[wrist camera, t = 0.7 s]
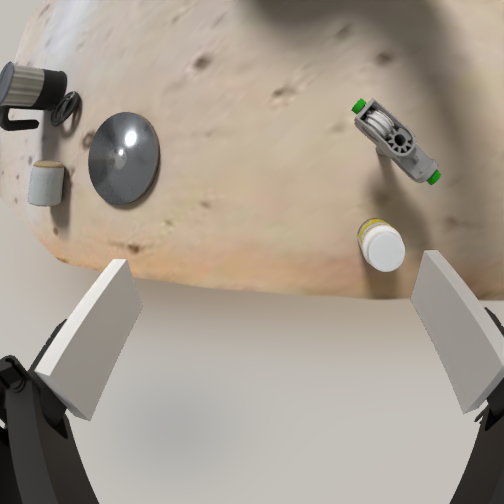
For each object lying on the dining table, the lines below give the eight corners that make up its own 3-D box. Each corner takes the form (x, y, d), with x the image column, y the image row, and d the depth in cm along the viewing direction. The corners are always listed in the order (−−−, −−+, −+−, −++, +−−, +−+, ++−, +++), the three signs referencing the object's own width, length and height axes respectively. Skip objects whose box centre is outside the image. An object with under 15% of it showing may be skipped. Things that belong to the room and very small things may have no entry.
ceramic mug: (71, 162, 44) (40, 165, 36) (67, 203, 46) (37, 209, 39) (46, 157, 46) (19, 159, 39) (43, 193, 48) (16, 198, 41)
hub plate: (92, 125, 40) (86, 125, 39) (158, 103, 36) (153, 101, 35) (96, 206, 44) (91, 207, 43) (163, 199, 40) (158, 200, 39)
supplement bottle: (391, 253, 33) (407, 276, 26) (357, 254, 35) (363, 277, 27) (392, 217, 32) (409, 229, 24) (356, 217, 33) (364, 230, 26)
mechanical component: (403, 185, 31) (429, 190, 21) (342, 129, 31) (347, 112, 22) (417, 169, 30) (447, 168, 20) (357, 113, 30) (366, 90, 21)
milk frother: (48, 76, 40) (-2, 70, 27) (90, 56, 37) (32, 41, 23) (40, 134, 45) (-13, 137, 31) (80, 123, 41) (16, 120, 27)
